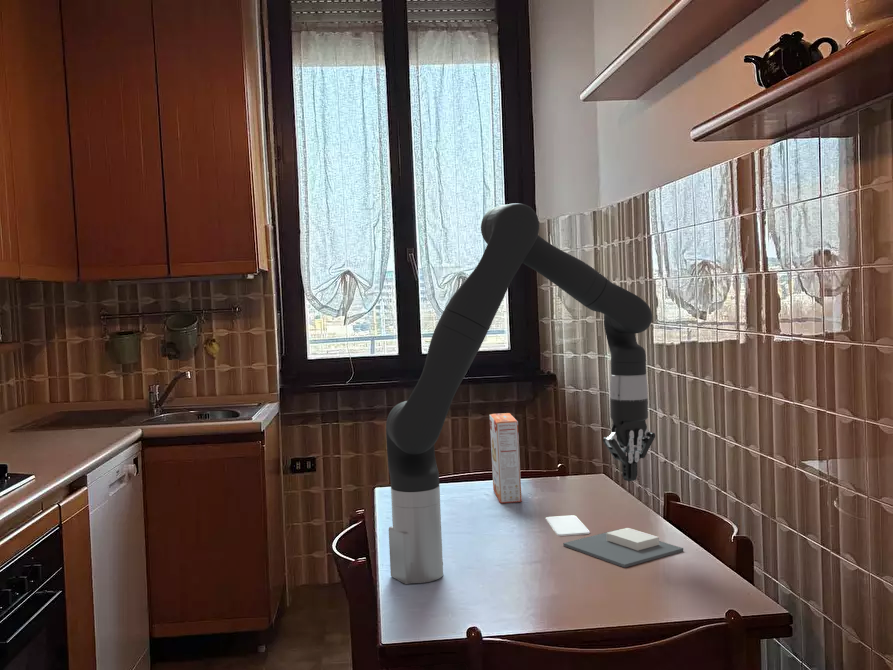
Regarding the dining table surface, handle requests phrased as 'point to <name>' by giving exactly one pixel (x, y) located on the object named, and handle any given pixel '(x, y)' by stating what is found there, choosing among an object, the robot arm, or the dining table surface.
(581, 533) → the smartphone
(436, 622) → the dining table surface
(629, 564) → the mat
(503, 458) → the cracker box
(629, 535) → the card box
